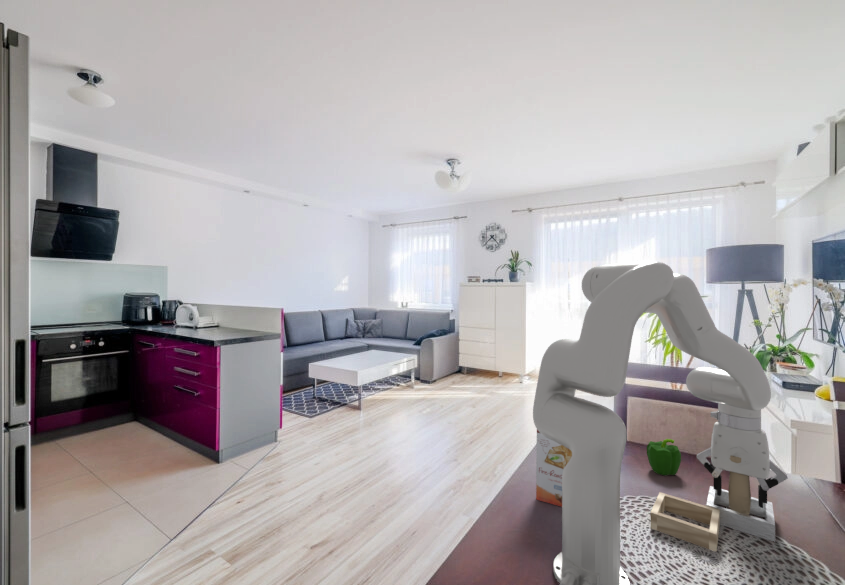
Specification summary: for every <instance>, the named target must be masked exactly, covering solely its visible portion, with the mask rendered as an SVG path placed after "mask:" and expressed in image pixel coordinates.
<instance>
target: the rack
mask: <svg viewBox="0 0 845 585" xmlns="http://www.w3.org/2000/svg"><path fill="white" fill-rule="evenodd" d="M665 512H668V513H671V514H674V515H677V516H681V517H684V518H687V519H689V520H692V521H696V522H698V523H703V524H705V525H707V526H709V528H706V527H704V526H700V525H698V524H695V523H692V522H690V521H689V522H688V521H686V520H683V519H679V518H677V517H674V516H670V515H669V514H666V513H665ZM720 528H721V527H720V510H718V509H715V508H711V507H708V506H706V504H705V505H704V504H701V503H697V502H695V501H690V500H688V499H684V498H681V497H677V496H674V495H671V494H667V493H665V492H661V491H659V492H658V495H657V497H656V499H655V501H654V503H653V506H652V509H651V510H650V530H651V529H652V530H653V531H657V532H659V533H662V534H665V535H668V536H671V537H674V538H676V539H678V540H682V541H683V542H684V541H685V542H688V543H689V544H694V545H695V546H699V547H701V548H704V549H707V550H710V551H712V552H715V553H717V552H718V544H719V536H720V535H719V534H720Z"/></svg>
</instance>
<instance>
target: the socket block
mask: <svg viewBox="0 0 845 585" xmlns="http://www.w3.org/2000/svg"><path fill="white" fill-rule="evenodd" d="M719 505H720V506H719ZM705 506H708V507H711V508H715V509H718V510H720V525H721V526H723V527H726V528H730V529H731V530H732V529H733V530H736V531H739V532H742V533H746V534H749V535H751V536H754V537H757V538H760V539H764V540H767V541H770V542H773V541H774V543H776V522H775V513H774V506H773V502H771V501H768V500H767V504H766V503H763V508H761V507H760V506H759V503H758V497H753V496H751V507H750V513H749V515H747V514H744V513H740V512H737V511H734V510H730V506H729V496H728V490H727V489H723V488H722V492H721V496H718V495H717V490H715V489H714V485H713V486H712V485H710V486H709V489H708V495H707V500H706V504H705ZM725 507H726V508H725ZM753 515H754V516H753ZM763 518H764V519H763Z"/></svg>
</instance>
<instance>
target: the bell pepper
mask: <svg viewBox="0 0 845 585" xmlns="http://www.w3.org/2000/svg"><path fill="white" fill-rule="evenodd" d="M667 443H671V444H667ZM674 443H675V440H674V439H672V438H666V439H664V440H660V441H653V440H652V441H649V442H648V444H647V445H646V455H647V460H648V463H649V466H650V467H651V469H652V471H653V472H654V473H656V474H657V475H661V476H664V477H665V476H675V475H676V474H677V473H678V472H679V468H680V465H681V462H682V453H681V451H680V449H679V447H678V445H674Z"/></svg>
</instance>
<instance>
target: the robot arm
mask: <svg viewBox="0 0 845 585" xmlns="http://www.w3.org/2000/svg"><path fill="white" fill-rule="evenodd" d="M581 290H582V294H583V295H584V297H585V299H587V300H588V302H590V304H589V306H588V308H587V309H586V312H585V315H584V318H583V322H582V328H581V332H580V335H579V338H578V340H577V339H572V338H571V339H570V338H568V339H567V338H563V339H559V340H556V341H553V342H552V343H551V344H550V345H549V346H548V347H547V349H546V350H545V352H544V354H543V355H542V359H541V360H540V361H541V362H540V367H539V372H538V377H537V383H536V389H535V394H534V401H533V406H532V418H533V420H532V421H533V424H534V427H535V428H536V431H537V430H538V431H539V432H540V433H541V434H542V435H544V436H545V437H547V438H549V439H551V440H553V441H555V442H557V443H559V444H561V445H563V446H564V447H566V448H568V449H569V450H571V451H572V457H571V459H570V461H569V462H568V463H567V465H566V466H565V468H564V471H563V475H562V507H561V512H562V514H561V522H562V523H561V524H562V525H561V539H562V540H561V551H560V552H559V553H558V554H557V555H556V556H555V558H553V562H552V563H553V565H552V566H553V568H552V569H553V570H552V571H553V575H554V578H555V580H556V579H557V580H556V581H557V583H558V582H559V583H560V584H559V583H558V585H631V582H630V579H629V577H628V575H627V574H626V572H624V570H623V569H622V568H621V474H622V473H621V472H622V471H621V470H622V463H623V458H624V453H625V450H626V444H627V437H628V434H627V427H626V424H625V422H624V420H622V418H621V416H619V415H618V414H617V413H616V412H615V411H613V410H612V409H610V408H609V407H607V406H605V405H602V404H600V403H597V402H593V401H591V400H588V399H585V398H581V397H577V396H575V395H576V391H580V392H583V393H586V394H590V395H593V396H598V397H603V398H605V397H607V398H611V397H615V396H617V395H619V394H620V393H621V391H622V390H623V388H624V385H625V382H626V378H627V372H628V367H629V361H630V354H631V347H632V341H633V335H634V331H635V327H636V325H637V322H638V321H639V319H640V318H641V316H642V315H643V314H645V313H648V314H650V313H651V314H655V315H656V316H657V317H658V319H659V321H660V323H661V325H662V327H663V329H664V331H665V332H666V334H667V337H668V338H669V341H670V342H671V343H672V345H673V346H674V347H675V348H677V349H678V350H680V351H682V352H683V353H686V354H687V355H689V356H692V357H694V358H696V359H699V360H700V361H703V362H706V363H708V364H710V365H712V366H714V367H712V366H711V367H710V366H699V367H695V368H693V369H692V370H690V372H689V373H688V374H687V376H686V380H685V384H686V385H685V386H686V388H687V390H688V391H689V393H690V394H692V395H693V397H695V398H696V397H697V398H699V399H701V400H702V401H703V400H704V401H707V402H712V403H716V404H717V409H718V410H716V411H710V418H714V419H716V420H717V421H716V422H714V424H713V428H712V433H711V442H710V443H711V445H710V447H708V448H706V449H704V450H703V451H701V452H699V453H697V454H696V459H697V460H698V461H699V462H700V463H701V464H702V465H703V467H704V468H705V469H706V471H708V472H709V473H710V474H711V476H712V477H713V487H714V489H715V490H717V495H718V496H721V492H722V489H723V487H722V486H723V484H722V481H723V480H722V479H723V478H722V477H723V476H722V475H721V473H722V472H723V471H726V472H729V473H730V472H734V473H738V474H742V475H746V476H749V478H750V477H751V478H755V479H756V481H758V483H759V485H758V484H757V485H758V488H757V490H758V494H757V495H758V496H757V499H758V503H759V506H760V507H761V508H763V503H766V504H767V501H768V491H769V490H770V489H772V488H774V487H776V486H777V485H779V484H782V483H783V482H784V481H786V480H788V479H789V478H788V477H789V476H788V474H787V473H786V472H785V471H783V470H782V469H781V468H780V467H779V466H777V465H776V464H775V462H774V461H773V460H772V459H770V449H769V441H768V436H767V433H766V430H764V429H762V410H763V409H765V408H767V407H768V405H769V403H770V402H771V397H772V391H771V390H772V389H771V385H770V383H769V379H768V377H767V375H766V373H765V370H764V368H763V366H762V364H761V362H760V361H759V359H758V358H757V357H756V356H755V355H754V354H753V353H752V352H751V351H749V350H748V349H747V348H746V347H744V346H743V345H742V344H740V343H739V342H737V341H736V340H734V338H731V337H730V336H729V335H727V334H725V333H724V332H722V331H721V330H719V329H718V328H717V326H716V324H715V323H714V320H713V318H712V317H711V314H710V312H709V310H708V308H707V306H706V303H705V301H704V299H703V297H702V296H701V294H700V292H699V289H698V287H697V285H696V283H695V282H694V281H693V280H692V279H691V278H690V277H689V276H687V275H684V274H681V273H674V272H673V269H672V268H671V267H670V265H668V264H666V263H664V262H660V261H654V260H646V261H645V260H642V261H641V260H640V261H631V262H623V263H613V264H611V263H610V264H602V265H596V266H594V267H591V268H590V269H588V270H587V272H585V273H584V275H583V277H582V280H581ZM730 456H735V457H739V458H741V463H735V462H732V461H731V460H730V459H729V458H730ZM708 457H710V461H709V460H708V459H707V458H708ZM771 471H772V472H773V473H774V476H770V475H771V474H770V473H771Z"/></svg>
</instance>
